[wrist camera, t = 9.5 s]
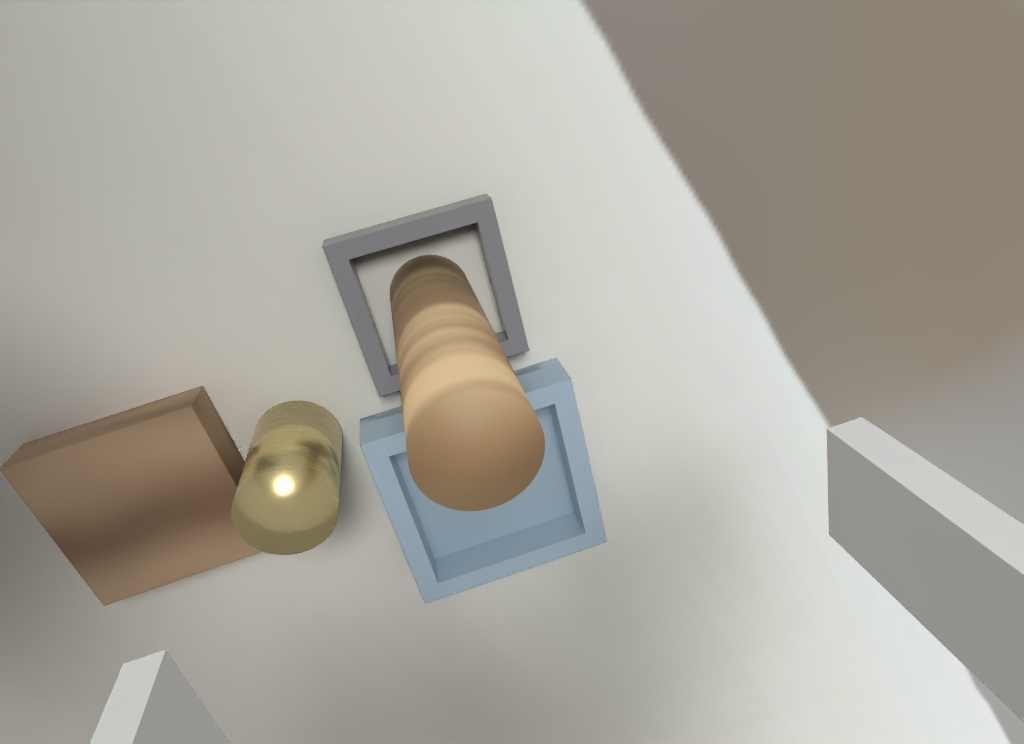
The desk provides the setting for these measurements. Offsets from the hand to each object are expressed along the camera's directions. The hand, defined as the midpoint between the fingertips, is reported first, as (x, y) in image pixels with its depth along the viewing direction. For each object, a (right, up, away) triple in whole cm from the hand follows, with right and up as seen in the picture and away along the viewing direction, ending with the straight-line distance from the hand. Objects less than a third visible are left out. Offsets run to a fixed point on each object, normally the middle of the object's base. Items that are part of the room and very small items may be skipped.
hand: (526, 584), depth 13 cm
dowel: (-4, +8, +17) cm, 19 cm away
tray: (-2, -1, +21) cm, 21 cm away
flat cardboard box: (-17, -1, +18) cm, 25 cm away
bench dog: (-10, +1, +18) cm, 21 cm away
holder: (-4, +8, +17) cm, 19 cm away
